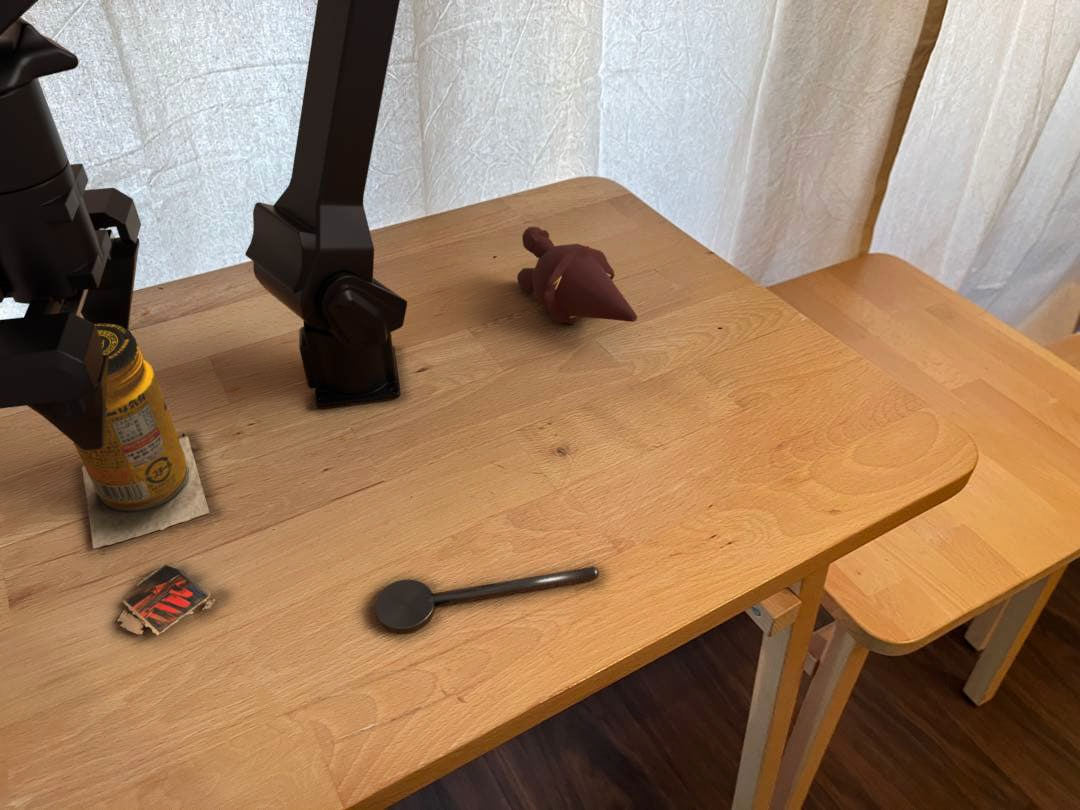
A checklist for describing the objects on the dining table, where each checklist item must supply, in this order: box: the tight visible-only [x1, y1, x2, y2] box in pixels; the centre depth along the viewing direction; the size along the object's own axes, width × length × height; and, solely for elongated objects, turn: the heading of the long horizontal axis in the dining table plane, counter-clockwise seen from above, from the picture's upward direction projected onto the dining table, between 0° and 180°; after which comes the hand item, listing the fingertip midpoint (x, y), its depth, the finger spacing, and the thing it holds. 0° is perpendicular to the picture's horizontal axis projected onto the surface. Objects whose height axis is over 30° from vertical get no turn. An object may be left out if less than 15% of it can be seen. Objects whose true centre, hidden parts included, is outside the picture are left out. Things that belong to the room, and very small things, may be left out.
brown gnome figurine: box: [516, 226, 638, 325], centre depth 75 cm, size 7×7×15 cm
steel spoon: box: [374, 566, 600, 635], centre depth 54 cm, size 14×4×1 cm, turn 102°
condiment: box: [73, 323, 210, 549], centre depth 57 cm, size 7×8×12 cm
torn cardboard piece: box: [117, 563, 220, 636], centre depth 53 cm, size 5×5×1 cm
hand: (106, 399), depth 56 cm, fingers open, 9 cm apart
